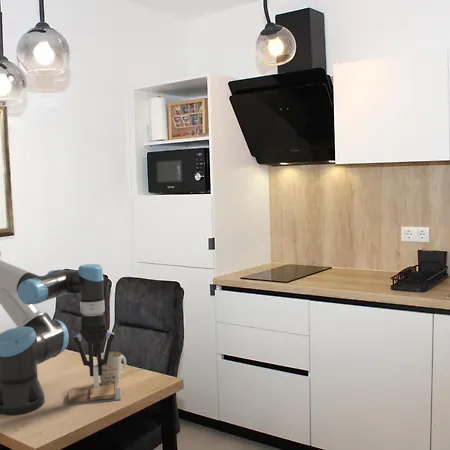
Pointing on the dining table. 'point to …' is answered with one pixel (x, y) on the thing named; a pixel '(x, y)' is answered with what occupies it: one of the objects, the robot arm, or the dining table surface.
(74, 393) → the laid plank
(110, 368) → the mug
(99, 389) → the plank
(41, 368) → the dining table surface
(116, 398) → the underlay
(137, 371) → the dining table surface
